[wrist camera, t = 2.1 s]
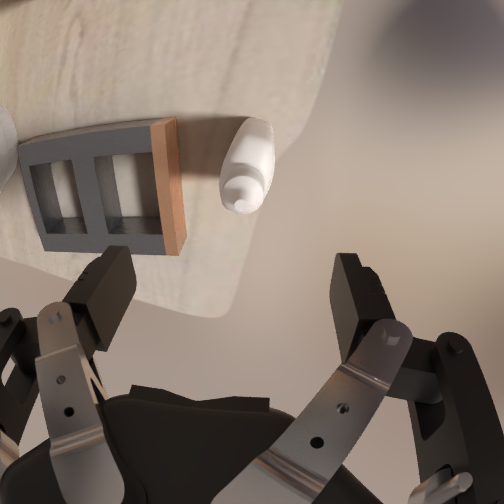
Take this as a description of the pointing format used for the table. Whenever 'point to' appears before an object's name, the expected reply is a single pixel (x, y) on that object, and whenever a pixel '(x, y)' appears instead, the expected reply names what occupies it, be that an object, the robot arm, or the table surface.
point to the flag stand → (7, 147)
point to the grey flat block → (106, 188)
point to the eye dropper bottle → (248, 167)
